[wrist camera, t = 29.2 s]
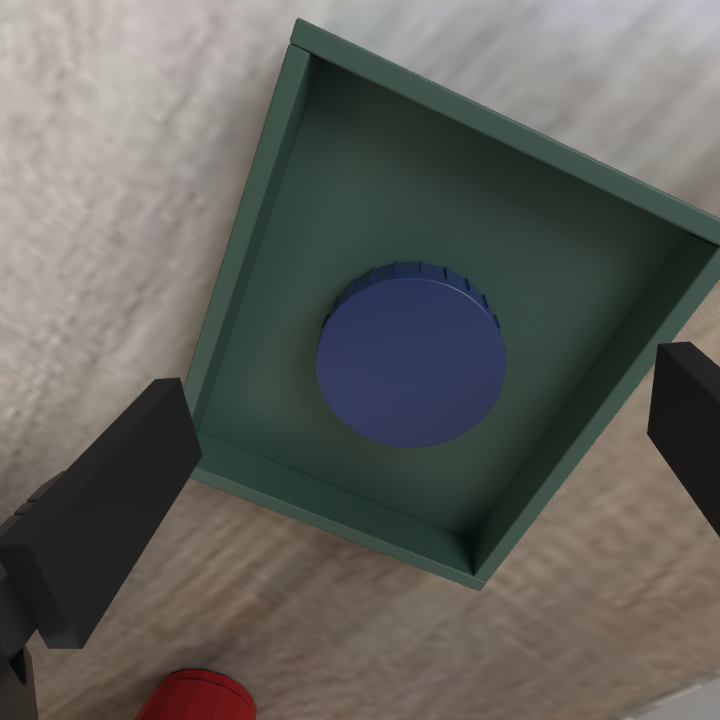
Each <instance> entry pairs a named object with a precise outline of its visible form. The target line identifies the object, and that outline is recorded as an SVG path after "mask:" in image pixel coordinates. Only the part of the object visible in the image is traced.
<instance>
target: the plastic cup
mask: <svg viewBox="0 0 720 720" xmlns="http://www.w3.org/2000/svg"><path fill="white" fill-rule="evenodd" d="M135 720H256V708H255V704H254V700H253V698H252V697H251V696H250V695H249V693H248V692H247V691H246V690H245V689H244V688H243V687H242V686H241V685H239V684H238V683H236V682H234V681H233V680H231V679H229V678H228V677H226V676H223V675H220V674H216V673H213V672H210V671H206V670H183V671H179V672H175V673H172V674H170V675H168V676H167V677H166V678H165V679H164V680H163V681H162V682H160V684H159V685H158V687H157V688H156V689H155V690H154V691H153V692H152V693H151V694H150V696H149V698H148V699H147V701H146V702H145V704H144V705H143V707H142V709H141V710H140V712H139V713H138V715H137V716H136V718H135Z"/></svg>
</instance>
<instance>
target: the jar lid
mask: <svg viewBox="0 0 720 720" xmlns="http://www.w3.org/2000/svg"><path fill="white" fill-rule="evenodd" d="M320 330H321V331H322V333H321V335H320V338H319V342H318V345H317V349H316V372H317V378H318V382H319V385H320V388H321V391H322V393H323V395H324V397H325V399H326V401H327V403H328V404H329V406H330V407H331V409H332V410H333V411H334V413H335V414H336V415H337V416H338V417H339V418H340V419H341V420H342V421H343V422H344V423H345V424H346V425H347V426H349V427H350V428H351V429H353V430H354V431H355V432H357V433H359V434H361V435H362V436H364V437H366V438H368V439H371V440H373V441H375V442H378V443H382V444H385V445H389V446H395V447H403V448H421V447H428V446H434V445H438V444H442V443H445V442H447V441H450V440H453V439H455V438H457V437H459V436H461V435H463V434H464V433H466V432H467V431H469V430H470V429H472V428H473V427H474V426H475V425H477V424H478V423H479V422H480V421H481V420H482V419H483V418H484V417H485V416H486V415H487V413H488V412H489V411H490V410H491V408H492V406H493V405H494V403H495V402H496V400H497V398H498V396H499V394H500V392H501V389H502V385H503V382H504V377H505V371H506V356H505V353H506V349H505V346H504V343H503V341H502V338H501V335H500V332H499V331H502V330H501V327H500V324H499V322H498V319H497V316H496V314H493V313H492V311H491V309H490V306H489V304H488V301H487V298H486V296H485V294H483V295H481V294H480V292H479V291H478V290H477V289H476V288H475V287H474V286H473V285H472V284H471V283H470V280H469V279H468V278H466V279H464V278H463V277H461V276H460V275H458V274H456V273H454V272H452V271H450V270H449V269H448V267H447V266H445V267H444V268H443V267H440V266H437V265H433V264H427V263H424V260H421V262H402V263H399V261H396V263H395V264H390V265H385V266H383V267H380V268H377V269H376V267H373V268H372V271H370V272H368V273H366V274H364V275H363V276H361V277H360V278H358V279H357V280H355V279H353V280H352V281H351V284H350V286H348V287H347V288H346V289H345V291H344V292H343V293H342V294H341V295H340V296H339V295H337V297H336V299H335V301H334V303H333V305H332V308H331V312H330V314H329V315H328V314H327V315H326V318H325V320H324V322H323V324H322V326H321V329H320Z"/></svg>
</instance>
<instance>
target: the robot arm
mask: <svg viewBox="0 0 720 720" xmlns="http://www.w3.org/2000/svg"><path fill="white" fill-rule="evenodd" d="M647 435H648V436H649V438H650V439H651V440H652V442H653V443H654V445H655V446H656V448H657V449H658V450H659V452H660V453H661V455H662V456H663V457H664V459H665V460H666V462H667V463H668V465H669V466H670V467H671V469H672V470H673V472H674V473H675V475H676V476H677V477H678V479H679V480H680V482H681V483H682V485H683V486H684V487H685V489H686V490H687V492H688V493H689V494H690V496H691V497H692V499H693V500H694V502H695V503H696V504H697V506H698V507H699V509H700V510H701V512H702V513H703V514H704V516H705V517H706V519H707V520H708V522H709V523H710V524H711V526H712V527H713V529H714V530H715V532H716V533H717V534H718V536H719V537H720V367H719V366H718V365H717V364H715V363H714V362H713V361H712V360H711V359H710V358H708V357H707V356H706V355H705V354H704V353H703V352H701V351H700V350H699V349H698V348H697V347H696V346H694V345H693V344H692V343H691V342H676V343H662V344H658V346H657V354H656V363H655V371H654V380H653V388H652V397H651V405H650V414H649V422H648V431H647ZM202 456H203V454H202V451H201V448H200V444H199V441H198V438H197V434H196V431H195V428H194V424H193V421H192V418H191V414H190V411H189V408H188V404H187V401H186V398H185V394H184V391H183V388H182V384H181V381H180V378H167V379H155V380H154V381H153V382H152V383H151V384H150V385H149V386H148V387H147V388H146V389H145V390H144V391H143V392H142V393H141V394H140V395H139V396H138V397H137V398H136V400H135V401H134V402H133V403H132V404H131V405H130V406H129V407H128V408H127V409H126V410H125V411H124V412H123V413H122V414H121V415H120V416H119V417H118V418H117V419H116V420H115V421H114V422H113V423H112V424H111V425H110V426H109V427H108V428H107V429H106V430H105V431H104V432H103V433H102V434H101V435H100V436H99V437H98V438H97V439H96V440H95V442H94V443H93V444H92V445H91V446H90V447H89V448H88V449H87V450H86V451H85V452H84V453H83V454H82V455H81V456H80V457H79V458H78V459H77V460H76V461H75V462H74V463H73V464H72V465H71V466H70V467H69V468H68V469H67V470H66V471H63V472H61V473H60V474H58V475H57V476H55V477H54V478H52V479H50V480H49V481H47V482H46V483H44V484H43V485H42V486H41V487H40V488H39V489H38V490H37V491H36V492H35V493H33V494H32V495H31V496H30V497H29V498H28V499H27V503H23V504H22V505H21V506H20V507H19V508H18V509H17V510H16V511H15V512H14V516H10V517H9V518H8V519H7V520H6V521H5V522H4V523H3V524H2V525H1V526H0V720H38V713H37V704H36V695H35V686H34V676H33V667H32V658H31V655H30V653H29V651H28V649H27V648H26V646H25V644H26V642H27V641H28V640H29V638H30V637H31V636H32V634H33V633H34V631H35V630H36V629H38V631H39V633H40V635H41V637H42V638H43V640H44V642H45V644H46V646H47V648H48V649H82V648H83V647H84V645H85V644H86V642H87V640H88V639H89V637H90V636H91V634H92V632H93V631H94V629H95V628H96V626H97V624H98V623H99V621H100V620H101V618H102V616H103V615H104V613H105V612H106V610H107V608H108V607H109V605H110V603H111V602H112V600H113V599H114V597H115V595H116V594H117V592H118V591H119V589H120V587H121V586H122V584H123V583H124V581H125V579H126V578H127V576H128V575H129V573H130V571H131V570H132V568H133V567H134V565H135V563H136V562H137V560H138V559H139V557H140V555H141V554H142V552H143V551H144V549H145V547H146V546H147V544H148V543H149V541H150V539H151V538H152V536H153V535H154V533H155V531H156V530H157V528H158V527H159V525H160V523H161V522H162V520H163V519H164V517H165V515H166V514H167V512H168V511H169V509H170V507H171V506H172V504H173V502H174V501H175V499H176V498H177V496H178V494H179V493H180V491H181V490H182V488H183V486H184V485H185V483H186V482H187V480H188V478H189V477H190V475H191V474H192V472H193V470H194V469H195V467H196V466H197V464H198V462H199V461H200V459H201V458H202Z"/></svg>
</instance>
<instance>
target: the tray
mask: <svg viewBox="0 0 720 720" xmlns="http://www.w3.org/2000/svg"><path fill="white" fill-rule="evenodd" d="M290 43H291V44H289V46H288V48H287V51H286V55H285V58H284V61H283V65H282V68H281V71H280V74H279V78H278V81H277V84H276V88H275V91H274V94H273V97H272V101H271V104H270V107H269V110H268V114H267V117H266V120H265V124H264V127H263V130H262V133H261V137H260V140H259V143H258V146H257V150H256V153H255V156H254V160H253V163H252V166H251V169H250V173H249V176H248V179H247V183H246V186H245V189H244V192H243V196H242V199H241V202H240V205H239V209H238V212H237V215H236V219H235V222H234V225H233V228H232V232H231V235H230V238H229V241H228V245H227V248H226V251H225V255H224V258H223V261H222V264H221V268H220V271H219V274H218V278H217V281H216V284H215V287H214V291H213V294H212V297H211V300H210V304H209V307H208V310H207V314H206V317H205V320H204V323H203V327H202V330H201V333H200V336H199V340H198V343H197V346H196V350H195V353H194V356H193V359H192V363H191V366H190V369H189V373H188V376H187V379H186V382H185V386H184V389H183V391H184V394H185V398H186V401H187V404H188V408H189V411H190V414H191V418H192V421H193V424H194V428H195V431H196V434H197V438H198V441H199V444H200V448H201V451H202V454H203V456H202V458H201V459H200V461H199V462H198V464H197V466H196V467H195V469H194V470H193V472H192V474H191V475H190V478H192V479H195V480H197V481H200V482H202V483H205V484H207V485H210V486H212V487H215V488H218V489H220V490H223V491H225V492H228V493H230V494H233V495H235V496H238V497H240V498H243V499H246V500H248V501H251V502H253V503H256V504H258V505H261V506H263V507H266V508H268V509H271V510H274V511H276V512H279V513H281V514H284V515H286V516H289V517H291V518H294V519H296V520H299V521H301V522H304V523H307V524H309V525H312V526H314V527H317V528H319V529H322V530H324V531H327V532H329V533H332V534H335V535H337V536H340V537H342V538H345V539H347V540H350V541H352V542H355V543H357V544H360V545H363V546H365V547H368V548H370V549H373V550H375V551H378V552H380V553H383V554H385V555H388V556H391V557H393V558H396V559H398V560H401V561H403V562H406V563H408V564H411V565H413V566H416V567H418V568H421V569H424V570H426V571H429V572H431V573H434V574H436V575H439V576H441V577H444V578H446V579H449V580H452V581H454V582H457V583H459V584H462V585H464V586H467V587H469V588H472V589H474V590H477V591H481V589H482V588H483V587H484V585H485V584H486V581H488V580H489V579H490V578H491V576H492V575H493V574H494V572H495V571H496V570H497V568H498V567H499V566H500V564H501V563H502V562H503V561H504V559H505V558H506V557H507V555H508V554H509V553H510V551H511V550H512V549H513V548H514V546H515V545H516V544H517V542H518V541H519V540H520V538H521V537H522V536H523V534H524V533H525V532H526V531H527V529H528V528H529V527H530V525H531V524H532V523H533V521H534V520H535V519H536V518H537V516H538V515H539V514H540V512H541V511H542V510H543V508H544V507H545V506H546V504H547V503H548V502H549V501H550V499H551V498H552V497H553V495H554V494H555V493H556V491H557V490H558V489H559V488H560V486H561V485H562V484H563V482H564V481H565V480H566V478H567V477H568V476H569V475H570V473H571V472H572V471H573V469H574V468H575V467H576V465H577V464H578V463H579V461H580V460H581V459H582V458H583V456H584V455H585V454H586V452H587V451H588V450H589V448H590V447H591V446H592V445H593V443H594V442H595V441H596V439H597V438H598V437H599V435H600V434H601V433H602V431H603V430H604V429H605V428H606V426H607V425H608V424H609V422H610V421H611V420H612V418H613V417H614V416H615V415H616V413H617V412H618V411H619V409H620V408H621V407H622V405H623V404H624V403H625V401H626V400H627V399H628V398H629V396H630V395H631V394H632V392H633V391H634V390H635V388H636V387H637V386H638V385H639V383H640V382H641V381H642V379H643V378H644V377H645V375H646V374H647V373H648V372H649V370H650V369H651V368H652V366H653V365H654V364H655V362H656V354H657V346H658V344H662V343H671V342H672V340H673V339H674V338H675V336H676V335H677V334H678V332H679V331H680V330H681V328H682V327H683V326H684V325H685V323H686V322H687V321H688V319H689V318H690V317H691V315H692V314H693V313H694V312H695V310H696V309H697V308H698V306H699V305H700V304H701V302H702V301H703V300H704V299H705V297H706V296H707V295H708V293H709V292H710V291H711V289H712V288H713V287H714V285H715V284H716V283H717V282H718V280H719V279H720V219H719V218H717V217H715V216H713V215H711V214H709V213H707V212H705V211H703V210H700V209H698V208H696V207H694V206H692V205H690V204H688V203H686V202H684V201H682V200H679V199H677V198H675V197H673V196H671V195H669V194H667V193H665V192H663V191H661V190H659V189H656V188H654V187H652V186H650V185H648V184H646V183H644V182H642V181H640V180H638V179H636V178H633V177H631V176H629V175H627V174H625V173H623V172H621V171H619V170H617V169H615V168H612V167H610V166H608V165H606V164H604V163H602V162H600V161H598V160H596V159H594V158H592V157H589V156H587V155H585V154H583V153H581V152H579V151H577V150H575V149H573V148H571V147H569V146H566V145H564V144H562V143H560V142H558V141H556V140H554V139H552V138H550V137H548V136H545V135H543V134H541V133H539V132H537V131H535V130H533V129H531V128H529V127H527V126H525V125H522V124H520V123H518V122H516V121H514V120H512V119H510V118H508V117H506V116H504V115H502V114H499V113H497V112H495V111H493V110H491V109H489V108H487V107H485V106H483V105H481V104H478V103H476V102H474V101H472V100H470V99H468V98H466V97H464V96H462V95H460V94H458V93H455V92H453V91H451V90H449V89H447V88H445V87H443V86H441V85H439V84H437V83H435V82H432V81H430V80H428V79H426V78H424V77H422V76H420V75H418V74H416V73H414V72H411V71H409V70H407V69H405V68H403V67H401V66H399V65H397V64H395V63H393V62H391V61H388V60H386V59H384V58H382V57H380V56H378V55H376V54H374V53H372V52H370V51H368V50H365V49H363V48H361V47H359V46H357V45H355V44H353V43H351V42H349V41H347V40H344V39H342V38H340V37H338V36H336V35H334V34H332V33H330V32H328V31H326V30H324V29H321V28H319V27H317V26H315V25H313V24H311V23H309V22H307V21H305V20H303V19H301V18H297V20H296V22H295V25H294V29H293V32H292V35H291V38H290ZM421 260H424V263H427V264H433V265H437V266H440V267H443V268H444V267H445V266H447V267H448V269H449V270H450V271H452V272H454V273H456V274H458V275H460V276H461V277H463V278H464V279H466V278H468V279H469V280H470V283H471V284H472V285H473V286H474V287H475V288H476V289H477V290H478V291H479V292H480V294H481V295H483V294H485V296H486V298H487V301H488V304H489V306H490V309H491V311H492V313H493V314H496V316H497V319H498V322H499V324H500V327H501V330H502V331H499V332H500V335H501V338H502V341H503V343H504V346H505V349H506V353H505V356H506V371H505V377H504V382H503V385H502V389H501V392H500V394H499V396H498V398H497V400H496V402H495V403H494V405H493V406H492V408H491V410H490V411H489V412H488V413H487V415H486V416H485V417H484V418H483V419H482V420H481V421H480V422H479V423H478V424H477V425H475V426H474V427H473V428H472V429H470V430H469V431H467V432H466V433H464V434H463V435H461V436H459V437H457V438H455V439H453V440H450V441H447V442H445V443H442V444H438V445H434V446H428V447H421V448H403V447H395V446H389V445H385V444H382V443H378V442H375V441H373V440H371V439H368V438H366V437H364V436H362V435H361V434H359V433H357V432H355V431H354V430H353V429H351V428H350V427H349V426H347V425H346V424H345V423H344V422H343V421H342V420H341V419H340V418H339V417H338V416H337V415H336V414H335V413H334V411H333V410H332V409H331V407H330V406H329V404H328V403H327V401H326V399H325V397H324V395H323V393H322V391H321V388H320V385H319V382H318V378H317V372H316V349H317V345H318V342H319V338H320V335H321V333H322V331H321V330H320V329H321V326H322V324H323V322H324V320H325V318H326V315H327V314H328V315H329V314H330V312H331V308H332V305H333V303H334V301H335V299H336V297H337V295H339V296H340V295H341V294H342V293H343V292H344V291H345V289H346V288H347V287H348V286H350V284H351V281H352V280H353V279H355V280H357V279H358V278H360V277H361V276H363V275H364V274H366V273H368V272H370V271H372V268H373V267H376V269H377V268H380V267H383V266H385V265H390V264H395V263H396V261H399V263H402V262H421Z"/></svg>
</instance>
